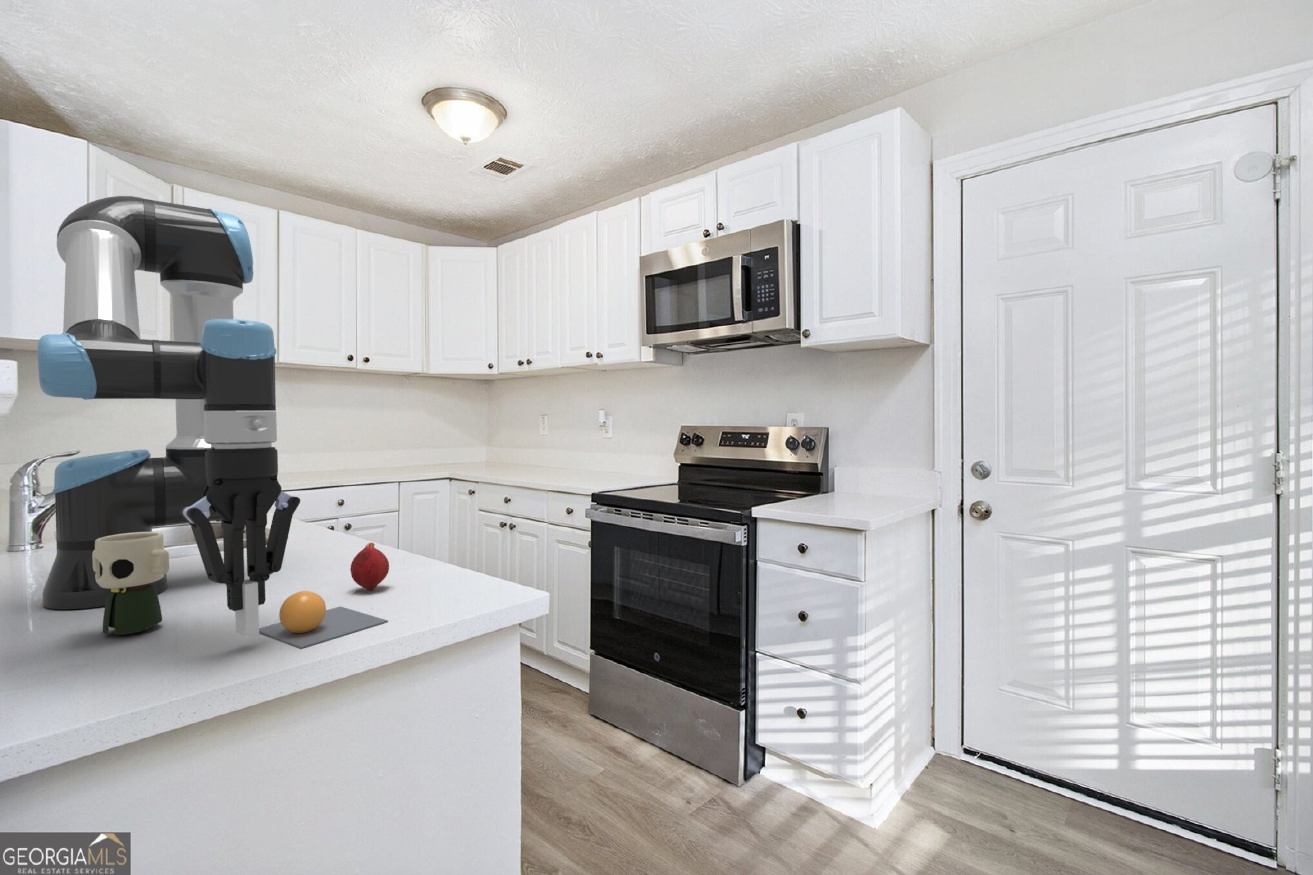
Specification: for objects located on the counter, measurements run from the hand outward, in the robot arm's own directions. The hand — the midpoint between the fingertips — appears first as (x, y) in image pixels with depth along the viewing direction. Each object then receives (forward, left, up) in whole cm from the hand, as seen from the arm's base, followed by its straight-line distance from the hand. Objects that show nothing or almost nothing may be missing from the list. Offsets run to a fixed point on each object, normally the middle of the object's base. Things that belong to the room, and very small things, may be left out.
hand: (247, 633), depth 79 cm
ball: (0, +7, +1) cm, 7 cm away
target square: (0, +10, -2) cm, 10 cm away
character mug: (-20, -5, -2) cm, 21 cm away
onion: (-11, +24, -2) cm, 26 cm away
